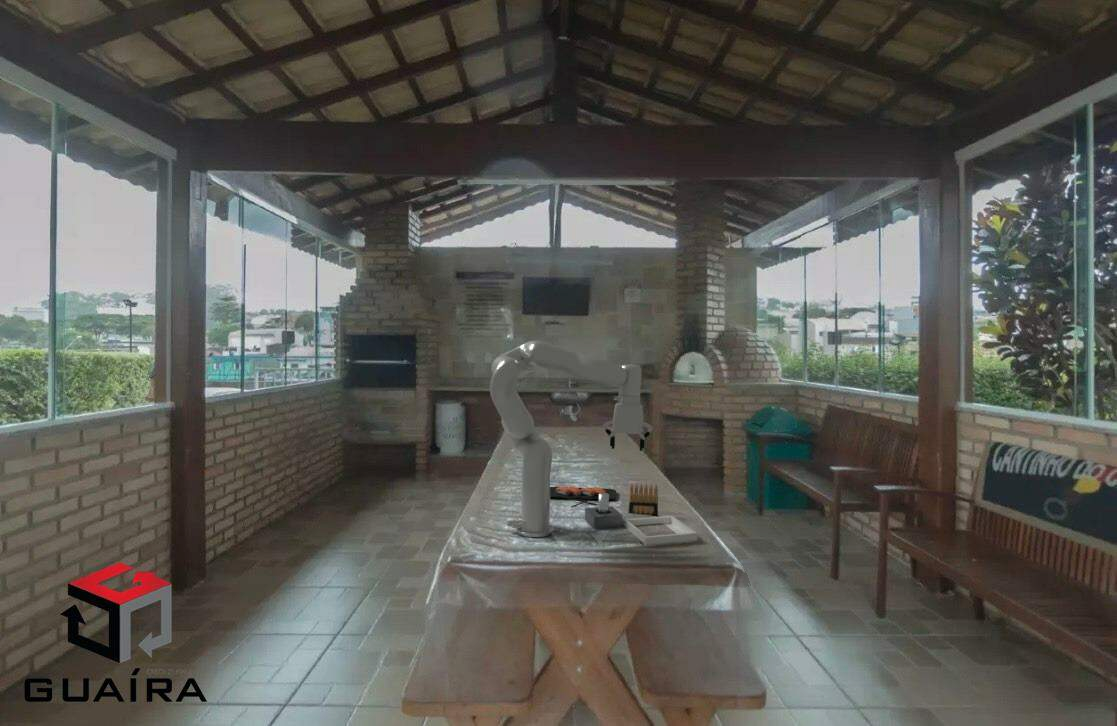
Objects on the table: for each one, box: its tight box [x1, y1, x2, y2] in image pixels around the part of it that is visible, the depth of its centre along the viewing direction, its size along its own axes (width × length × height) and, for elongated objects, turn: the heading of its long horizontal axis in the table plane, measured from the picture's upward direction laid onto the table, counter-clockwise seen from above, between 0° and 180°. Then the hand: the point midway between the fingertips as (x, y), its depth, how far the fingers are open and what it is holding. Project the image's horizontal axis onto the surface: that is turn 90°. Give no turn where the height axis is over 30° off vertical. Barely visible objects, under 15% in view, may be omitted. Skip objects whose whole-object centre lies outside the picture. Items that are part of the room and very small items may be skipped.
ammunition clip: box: [628, 482, 659, 517], centre depth 212 cm, size 11×2×12 cm, turn 83°
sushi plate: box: [550, 485, 618, 508], centre depth 230 cm, size 29×30×4 cm
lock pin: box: [597, 493, 610, 514], centre depth 201 cm, size 4×4×10 cm
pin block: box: [584, 505, 623, 530], centre depth 201 cm, size 10×10×5 cm
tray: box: [623, 515, 698, 548], centre depth 192 cm, size 18×18×3 cm
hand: (626, 449), depth 202 cm, fingers open, 9 cm apart
